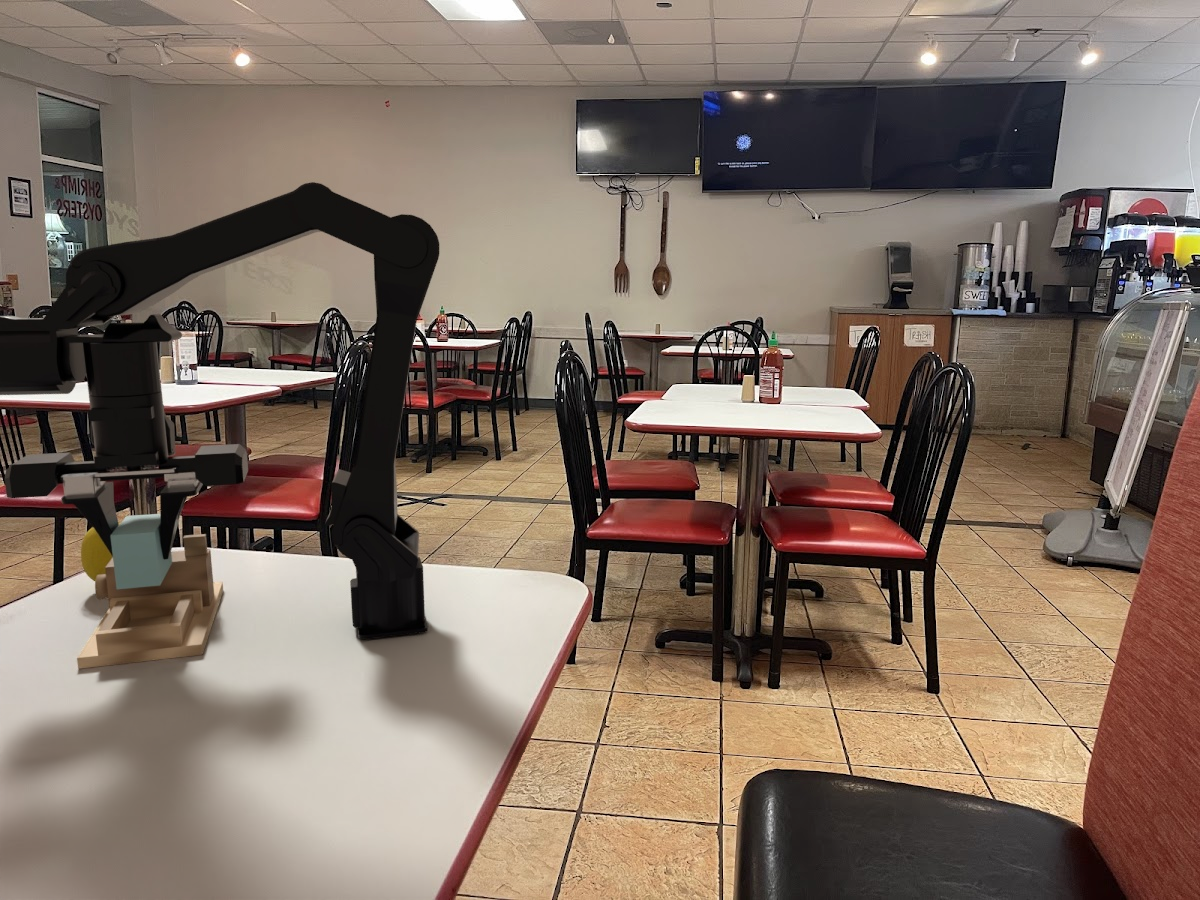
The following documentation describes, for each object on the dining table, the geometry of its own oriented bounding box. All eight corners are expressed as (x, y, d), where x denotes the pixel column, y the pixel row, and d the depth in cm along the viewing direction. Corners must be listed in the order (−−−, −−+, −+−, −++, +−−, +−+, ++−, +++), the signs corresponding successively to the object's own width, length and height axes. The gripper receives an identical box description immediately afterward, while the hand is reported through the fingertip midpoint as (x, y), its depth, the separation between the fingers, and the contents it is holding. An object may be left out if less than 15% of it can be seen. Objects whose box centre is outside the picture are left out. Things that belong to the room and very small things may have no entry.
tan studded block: (214, 594, 90) (208, 530, 88) (210, 606, 87) (204, 539, 85) (105, 604, 87) (97, 538, 85) (96, 617, 83) (88, 548, 82)
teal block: (172, 562, 83) (167, 513, 82) (160, 585, 77) (154, 532, 76) (132, 566, 82) (126, 516, 81) (116, 589, 76) (110, 535, 75)
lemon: (125, 598, 91) (117, 526, 90) (73, 597, 91) (65, 525, 90) (152, 580, 97) (145, 512, 95) (104, 579, 97) (96, 511, 95)
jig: (223, 590, 94) (221, 564, 93) (202, 654, 78) (199, 623, 77) (121, 599, 91) (118, 573, 90) (78, 668, 75) (74, 636, 74)
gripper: (246, 379, 86) (258, 527, 89) (34, 385, 81) (54, 543, 84) (235, 393, 76) (249, 561, 79) (-9, 401, 70) (16, 581, 73)
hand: (143, 560), depth 79 cm, fingers closed on teal block, 3 cm apart
